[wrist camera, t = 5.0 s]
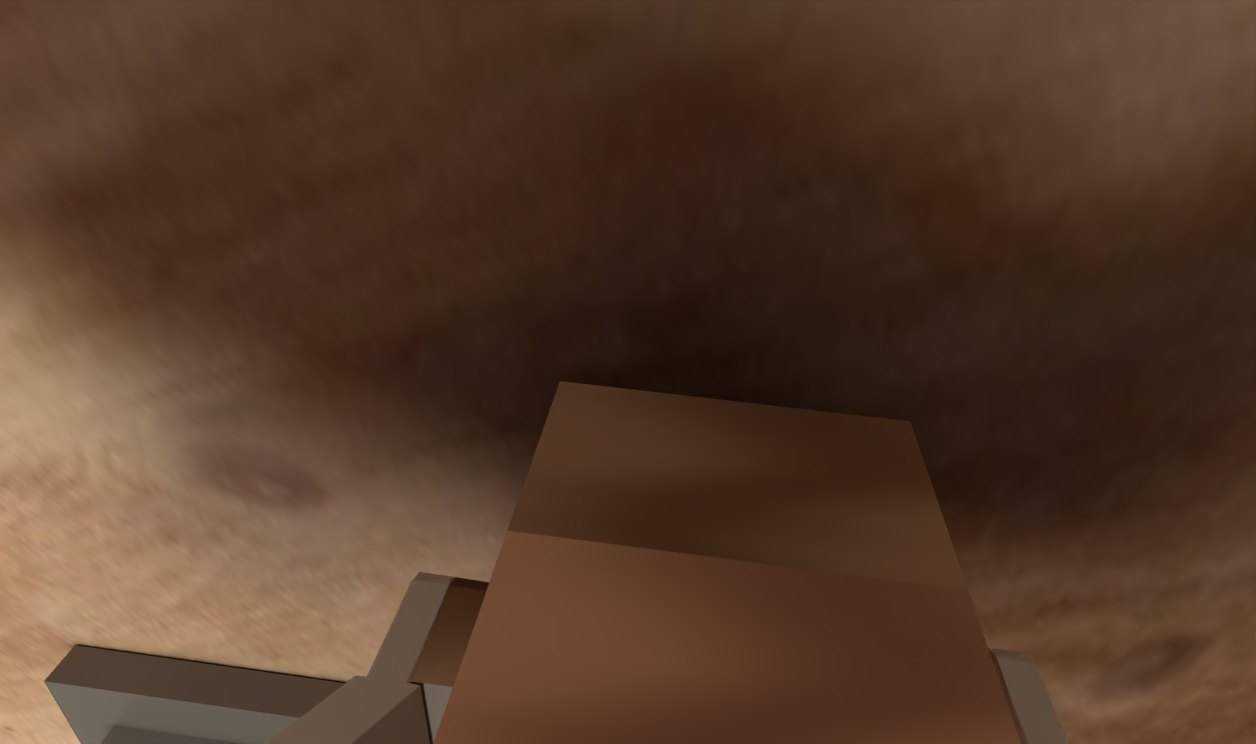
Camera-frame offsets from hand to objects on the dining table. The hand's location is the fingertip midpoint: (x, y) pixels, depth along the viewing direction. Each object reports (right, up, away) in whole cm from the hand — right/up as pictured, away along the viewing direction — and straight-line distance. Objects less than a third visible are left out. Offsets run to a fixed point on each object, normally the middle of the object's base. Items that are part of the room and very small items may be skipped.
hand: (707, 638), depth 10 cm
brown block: (0, +1, +2) cm, 2 cm away
